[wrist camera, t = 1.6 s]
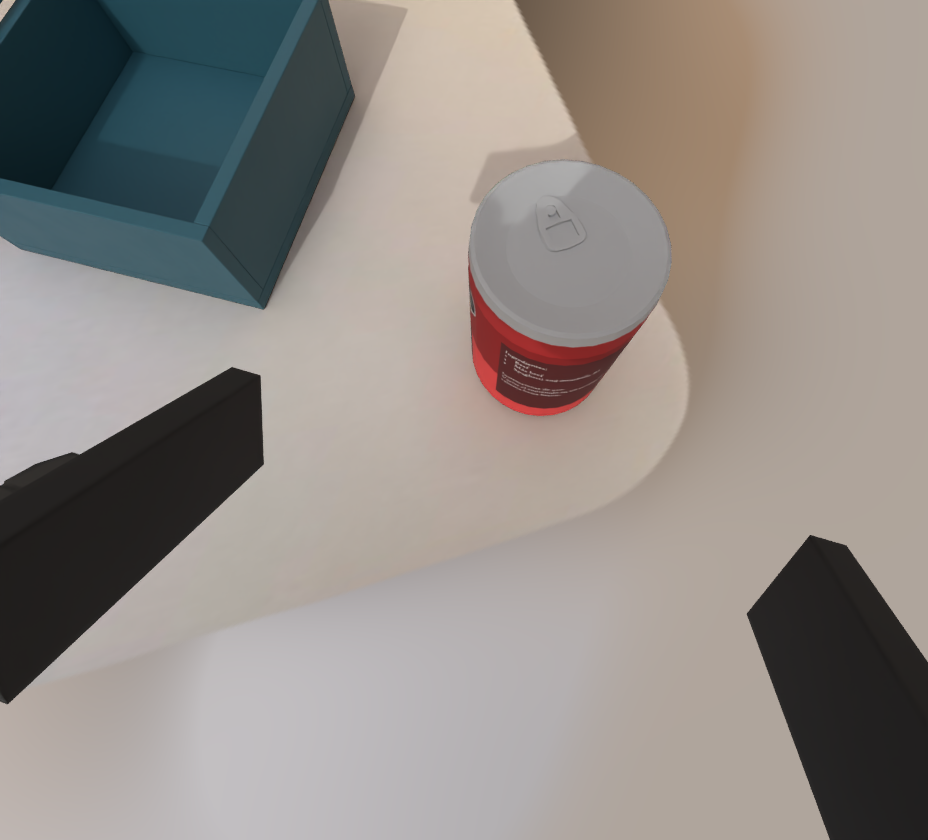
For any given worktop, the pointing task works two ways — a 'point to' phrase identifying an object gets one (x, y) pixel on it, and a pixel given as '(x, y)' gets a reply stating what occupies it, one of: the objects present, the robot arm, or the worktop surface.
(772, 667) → the robot arm
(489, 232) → the canned food
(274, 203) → the cool box
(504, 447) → the worktop surface
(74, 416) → the worktop surface
